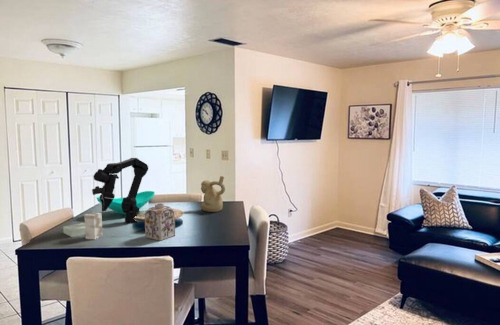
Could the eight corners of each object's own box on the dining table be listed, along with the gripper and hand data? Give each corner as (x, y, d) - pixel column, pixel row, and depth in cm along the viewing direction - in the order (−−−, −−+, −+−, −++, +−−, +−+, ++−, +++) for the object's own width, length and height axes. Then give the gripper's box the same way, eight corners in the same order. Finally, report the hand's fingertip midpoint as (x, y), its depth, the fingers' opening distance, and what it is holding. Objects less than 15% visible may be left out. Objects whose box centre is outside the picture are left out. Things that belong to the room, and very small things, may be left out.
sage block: (85, 229, 217) (84, 222, 217) (93, 233, 209) (93, 226, 208) (63, 233, 209) (63, 226, 208) (71, 237, 200) (71, 230, 200)
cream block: (93, 235, 203) (92, 212, 202) (102, 236, 201) (101, 213, 200) (85, 238, 197) (84, 214, 196) (95, 239, 195) (93, 215, 194)
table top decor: (103, 221, 233) (103, 201, 232) (92, 214, 255) (91, 195, 254) (162, 212, 257) (161, 194, 256) (146, 206, 279) (146, 189, 278)
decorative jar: (160, 232, 207) (159, 201, 206) (175, 235, 202) (175, 203, 200) (144, 238, 197) (143, 205, 196) (160, 241, 191) (159, 207, 190)
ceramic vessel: (207, 207, 275) (206, 173, 273) (230, 209, 267) (230, 175, 265) (194, 211, 260) (194, 176, 257) (219, 214, 252) (218, 177, 249)
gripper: (93, 183, 218) (87, 209, 214) (96, 180, 202) (89, 208, 198) (112, 187, 223) (107, 212, 219) (117, 183, 206) (111, 211, 203)
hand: (103, 211), depth 210 cm, fingers open, 9 cm apart
